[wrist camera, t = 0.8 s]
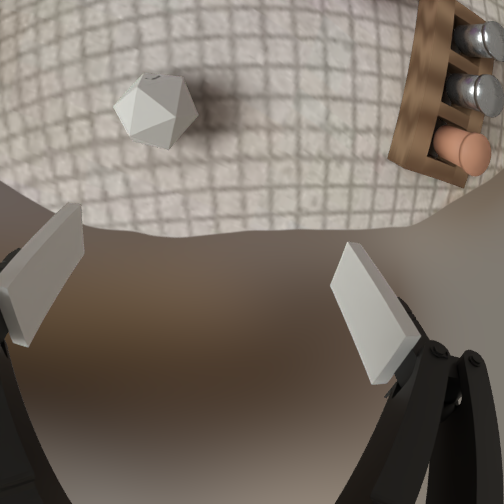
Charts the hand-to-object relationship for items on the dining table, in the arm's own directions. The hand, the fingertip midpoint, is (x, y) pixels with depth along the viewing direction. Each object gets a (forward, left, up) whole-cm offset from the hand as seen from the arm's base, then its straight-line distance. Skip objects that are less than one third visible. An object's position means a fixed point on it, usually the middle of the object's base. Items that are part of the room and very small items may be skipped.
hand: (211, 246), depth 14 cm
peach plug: (-8, +29, -22) cm, 37 cm away
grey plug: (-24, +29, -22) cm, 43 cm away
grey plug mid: (-16, +29, -22) cm, 40 cm away
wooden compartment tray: (-16, +29, -27) cm, 42 cm away
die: (-4, -8, -27) cm, 28 cm away
